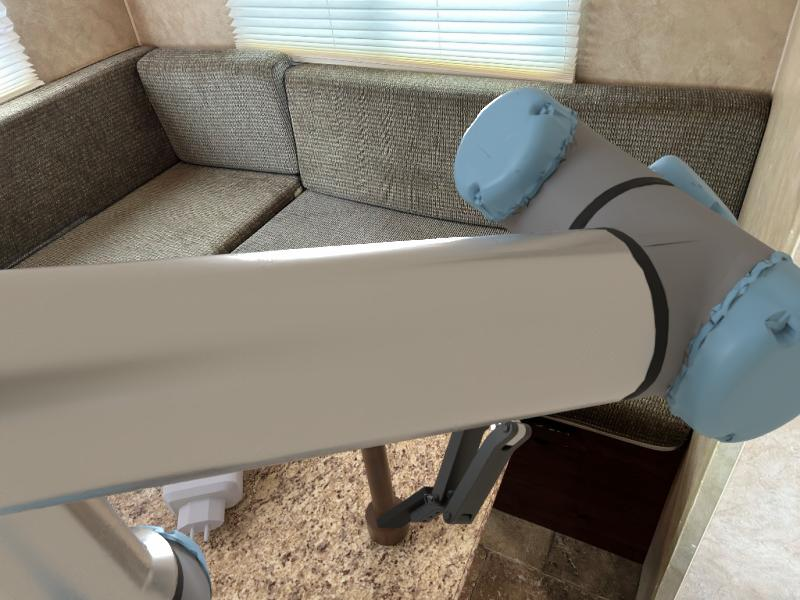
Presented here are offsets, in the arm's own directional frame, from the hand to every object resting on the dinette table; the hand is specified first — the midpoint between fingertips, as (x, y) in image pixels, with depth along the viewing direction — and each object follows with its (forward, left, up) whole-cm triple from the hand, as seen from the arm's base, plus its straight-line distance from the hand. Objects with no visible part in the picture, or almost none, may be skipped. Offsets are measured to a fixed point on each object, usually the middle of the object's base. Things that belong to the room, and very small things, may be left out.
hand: (370, 454), depth 58 cm
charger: (-9, +24, -20) cm, 33 cm away
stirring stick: (+3, +3, -20) cm, 20 cm away
